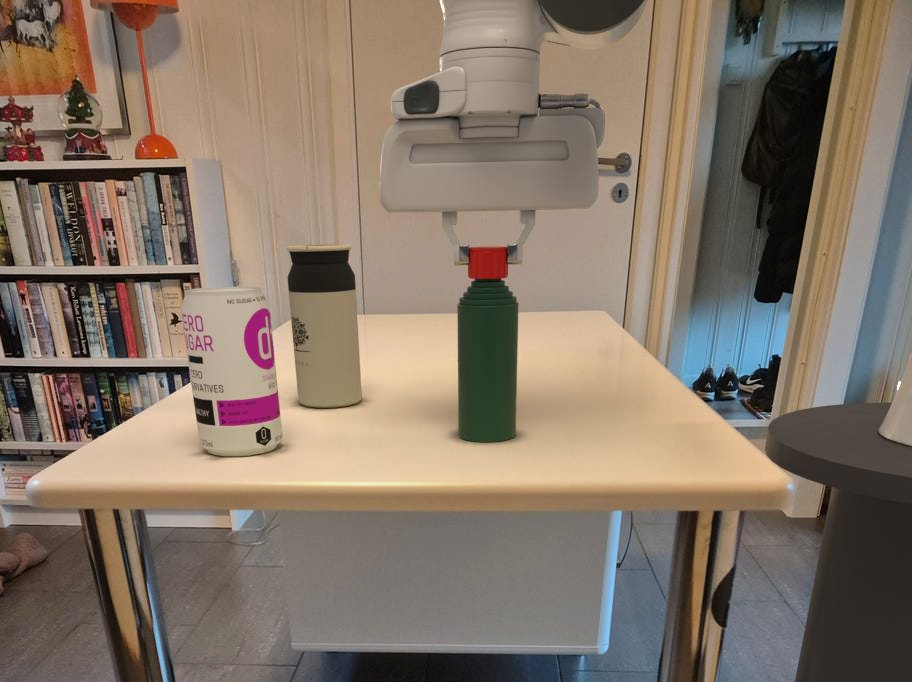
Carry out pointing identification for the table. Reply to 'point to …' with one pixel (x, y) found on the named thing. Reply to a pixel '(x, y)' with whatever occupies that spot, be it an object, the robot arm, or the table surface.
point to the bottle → (487, 361)
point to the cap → (487, 262)
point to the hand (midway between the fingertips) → (487, 264)
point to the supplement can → (232, 369)
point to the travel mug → (324, 325)
